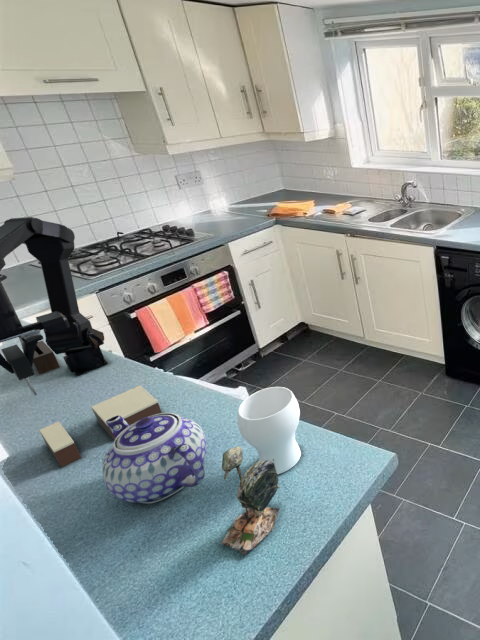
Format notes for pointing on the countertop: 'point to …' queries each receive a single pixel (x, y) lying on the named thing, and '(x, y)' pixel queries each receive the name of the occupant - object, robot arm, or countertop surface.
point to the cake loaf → (126, 407)
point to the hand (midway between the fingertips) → (22, 369)
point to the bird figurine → (251, 501)
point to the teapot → (154, 457)
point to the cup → (271, 426)
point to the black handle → (19, 364)
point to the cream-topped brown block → (60, 444)
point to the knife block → (44, 359)
